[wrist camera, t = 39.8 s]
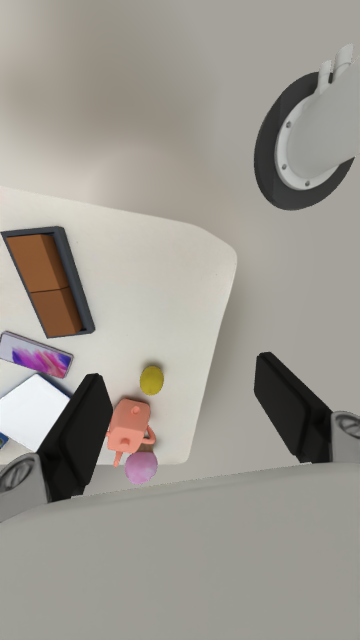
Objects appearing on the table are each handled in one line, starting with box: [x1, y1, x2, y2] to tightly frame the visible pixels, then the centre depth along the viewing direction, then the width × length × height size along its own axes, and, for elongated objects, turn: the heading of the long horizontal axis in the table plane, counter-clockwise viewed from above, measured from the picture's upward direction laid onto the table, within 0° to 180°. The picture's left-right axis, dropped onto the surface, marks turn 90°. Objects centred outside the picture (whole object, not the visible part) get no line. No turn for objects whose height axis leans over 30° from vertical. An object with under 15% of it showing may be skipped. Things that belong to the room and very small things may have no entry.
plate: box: [0, 374, 70, 452], centre depth 46 cm, size 22×22×2 cm
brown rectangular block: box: [6, 234, 70, 292], centre depth 31 cm, size 6×9×4 cm, turn 5°
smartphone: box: [0, 332, 73, 379], centre depth 40 cm, size 7×1×15 cm
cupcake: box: [125, 443, 158, 484], centre depth 49 cm, size 9×9×10 cm
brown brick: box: [30, 287, 83, 337], centre depth 34 cm, size 6×9×4 cm, turn 5°
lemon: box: [140, 366, 164, 395], centre depth 40 cm, size 6×6×8 cm
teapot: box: [106, 399, 156, 467], centre depth 44 cm, size 14×12×10 cm
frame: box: [0, 226, 95, 339], centre depth 34 cm, size 10×21×2 cm, turn 6°
